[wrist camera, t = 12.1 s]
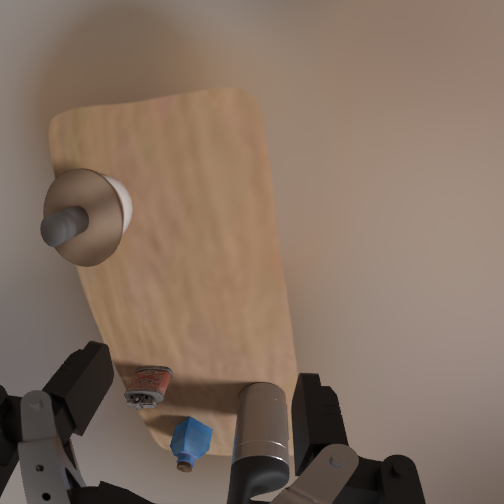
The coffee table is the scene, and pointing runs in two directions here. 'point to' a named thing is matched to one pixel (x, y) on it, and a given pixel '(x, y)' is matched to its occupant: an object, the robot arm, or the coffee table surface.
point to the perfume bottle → (190, 443)
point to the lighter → (148, 387)
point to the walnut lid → (82, 217)
